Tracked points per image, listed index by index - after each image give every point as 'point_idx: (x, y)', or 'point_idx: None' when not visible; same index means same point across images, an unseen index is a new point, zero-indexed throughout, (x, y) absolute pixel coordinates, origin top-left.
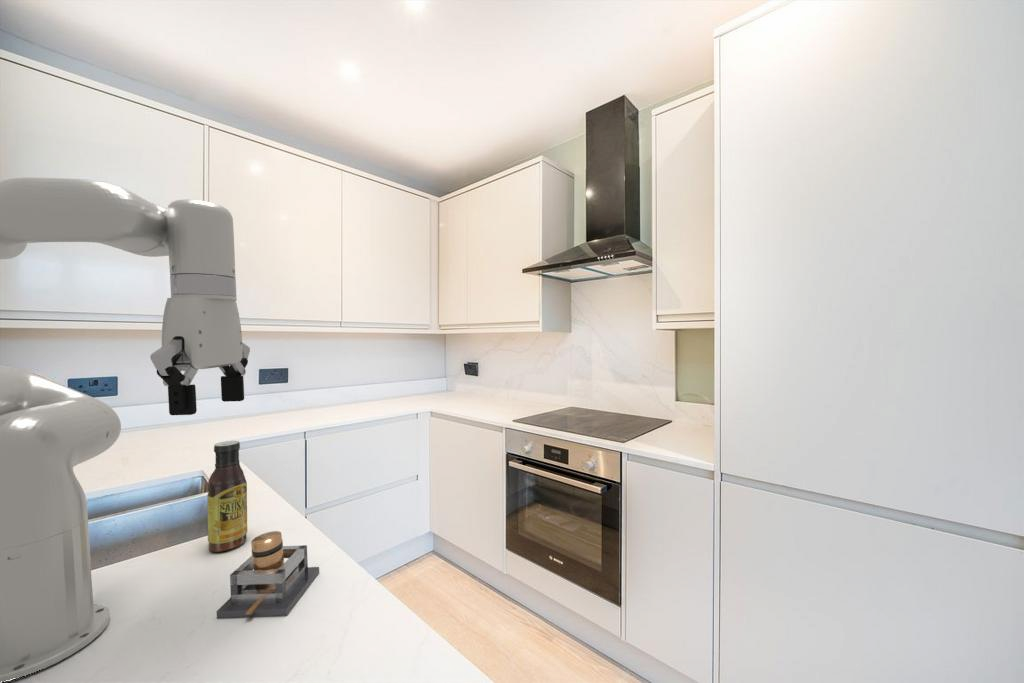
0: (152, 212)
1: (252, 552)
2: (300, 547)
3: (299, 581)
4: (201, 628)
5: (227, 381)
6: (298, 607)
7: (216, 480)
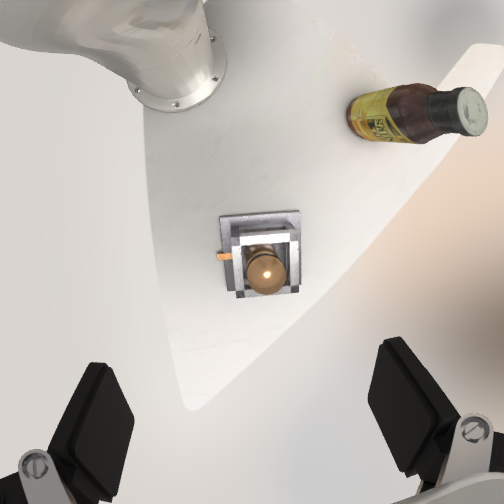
0: None
1: (250, 262)
2: (294, 286)
3: None
4: (205, 211)
5: (412, 427)
6: None
7: (407, 106)
